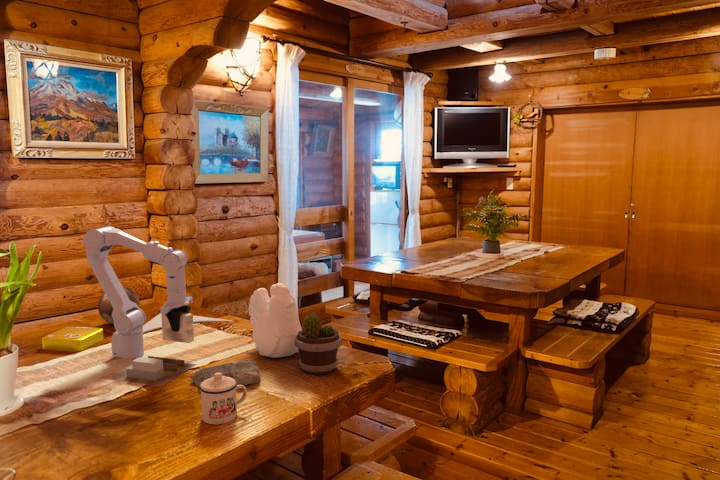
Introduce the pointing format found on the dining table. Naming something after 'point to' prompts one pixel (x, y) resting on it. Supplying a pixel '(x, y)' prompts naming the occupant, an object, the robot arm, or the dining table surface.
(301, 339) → the flowerpot
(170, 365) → the walnut rack
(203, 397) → the teacup with lid
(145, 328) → the corner molding
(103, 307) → the wooden sphere
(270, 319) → the white sculpture
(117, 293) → the robot arm
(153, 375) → the block
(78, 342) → the element tile
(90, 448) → the dining table surface
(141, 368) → the upper offcut
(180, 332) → the brown rectangular block
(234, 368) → the clay tablet
